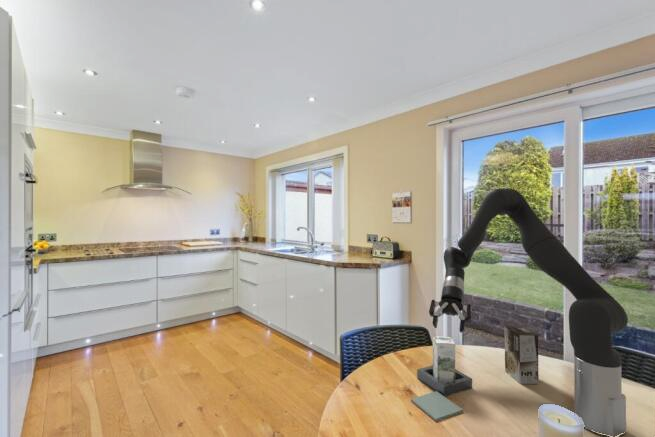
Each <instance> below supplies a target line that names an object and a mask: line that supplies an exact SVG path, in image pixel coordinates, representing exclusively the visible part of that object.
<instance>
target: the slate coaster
mask: <svg viewBox="0 0 655 437" xmlns="http://www.w3.org/2000/svg"><path fill="white" fill-rule="evenodd" d="M410 402H412V404H414V405H415V406H417V408H419V409H420V410H421V411H422V412H423V413H425V414H426V415H427V416H429V417H430V419H432V420H433V421H435V422H437V421H441V420H444V419H446V418H449V417H452V416H454V415H457V414H458V415H459V414H461V413H463V412H464V409H462V408H461V407H460V406H458V405H457V404H456V403H454V402H453V401H451V400H450V399H449V398H447V396H446V397H444V396H443V395H441V394H440V393H439V392H437V391H435V390H434V391H432V392H429V393H426V394H422V395H419V396H417V397H416V396H415V397H413V398H410Z"/></svg>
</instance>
